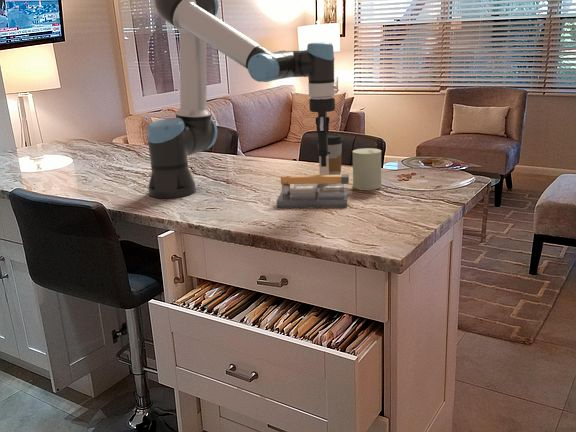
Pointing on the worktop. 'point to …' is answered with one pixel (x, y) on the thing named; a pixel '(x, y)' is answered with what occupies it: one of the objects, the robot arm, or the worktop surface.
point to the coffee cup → (334, 153)
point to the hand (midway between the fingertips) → (324, 176)
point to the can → (367, 169)
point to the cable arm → (315, 179)
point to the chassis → (313, 196)
